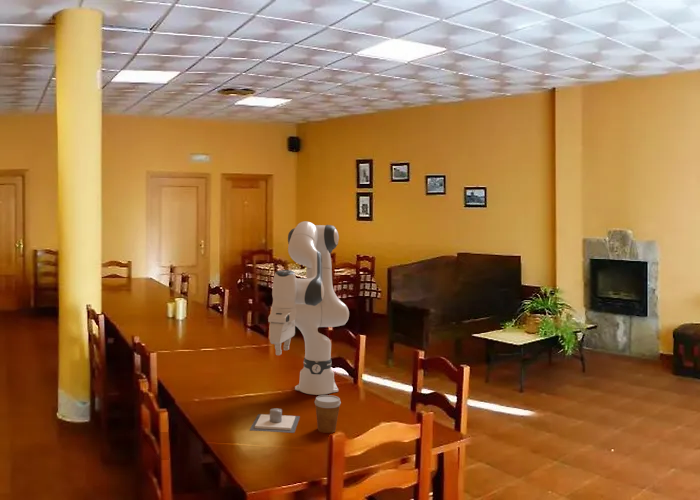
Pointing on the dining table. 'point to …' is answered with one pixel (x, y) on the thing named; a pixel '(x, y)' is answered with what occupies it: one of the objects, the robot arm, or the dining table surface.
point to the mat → (275, 429)
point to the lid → (275, 420)
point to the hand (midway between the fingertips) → (282, 352)
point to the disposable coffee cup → (327, 412)
